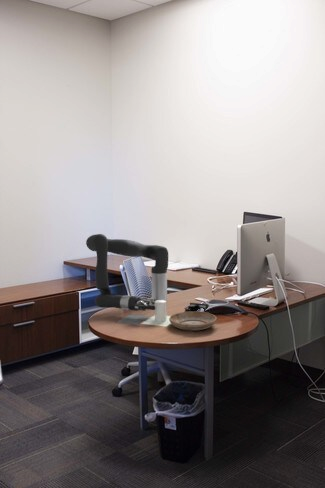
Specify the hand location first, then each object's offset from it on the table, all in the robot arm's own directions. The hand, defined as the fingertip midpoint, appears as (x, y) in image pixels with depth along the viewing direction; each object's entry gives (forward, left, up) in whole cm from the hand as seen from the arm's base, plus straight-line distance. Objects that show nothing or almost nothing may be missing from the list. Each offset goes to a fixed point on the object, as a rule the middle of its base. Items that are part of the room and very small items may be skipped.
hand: (158, 305), depth 267 cm
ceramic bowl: (+3, +20, -8) cm, 22 cm away
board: (0, +1, -8) cm, 8 cm away
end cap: (-16, +16, -8) cm, 24 cm away
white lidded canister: (0, +1, -8) cm, 8 cm away
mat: (+4, -13, -8) cm, 16 cm away
